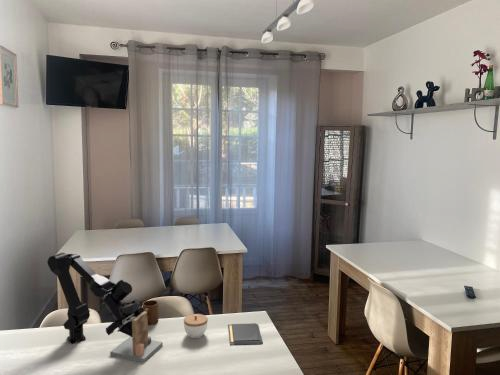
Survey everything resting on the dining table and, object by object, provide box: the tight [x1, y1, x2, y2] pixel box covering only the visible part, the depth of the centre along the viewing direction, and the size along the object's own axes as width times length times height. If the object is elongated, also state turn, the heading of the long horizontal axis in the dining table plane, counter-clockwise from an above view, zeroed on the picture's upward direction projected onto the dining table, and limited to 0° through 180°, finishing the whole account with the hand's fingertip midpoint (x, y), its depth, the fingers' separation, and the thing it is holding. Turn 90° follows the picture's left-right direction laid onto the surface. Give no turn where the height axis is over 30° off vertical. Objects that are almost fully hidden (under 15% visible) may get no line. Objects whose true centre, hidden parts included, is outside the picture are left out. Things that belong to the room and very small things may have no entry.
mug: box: [141, 299, 159, 326], centre depth 187 cm, size 12×8×9 cm, turn 176°
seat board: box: [109, 335, 163, 363], centre depth 163 cm, size 16×14×6 cm
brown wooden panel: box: [132, 311, 149, 354], centre depth 160 cm, size 9×2×14 cm, turn 163°
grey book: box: [227, 322, 264, 346], centre depth 178 cm, size 20×2×15 cm
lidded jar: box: [183, 313, 209, 339], centre depth 176 cm, size 11×11×9 cm
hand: (137, 336), depth 160 cm, fingers closed, pressing on brown wooden panel
